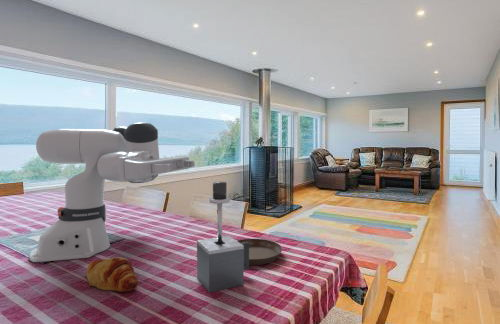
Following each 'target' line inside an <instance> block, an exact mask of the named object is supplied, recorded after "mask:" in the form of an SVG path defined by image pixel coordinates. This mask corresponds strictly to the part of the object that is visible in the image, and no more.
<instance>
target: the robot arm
mask: <svg viewBox="0 0 500 324" xmlns="http://www.w3.org/2000/svg"><path fill="white" fill-rule="evenodd" d="M158 132H159V130H158V128H157V127H156V126H154V124H152V123H150V122H149V123H148V122H145V121H143V122H134V123H132V124H129V125H128V126H125V125H123V126H116V127H114V128H113V130H109V129H100V128H99V129H97V128H96V129H95V128H89V129H88V128H86V129H85V128H58V129H50V130H45V131H42V133H40V134H39V136H38V137H37V139H36V143H35V149H36V153H37V154H38V156H39V157H40V159H42V160H43V161H44V162H47V163H54V164H60V165H71V164H73V165H74V164H75V165H76V164H78V165H79V164H80V165H81V164H84V165H85V168H84V171H82V172H79V173H78V174H76V175H74V176H72V177H71V178H69V179H68V180H66V183H65V185H64V194H65V195H64V196H65V197H64V198H65V202H64V203H65V207H64V206H60V207H58V208H57V216H58V217H57V218H58V220H57V221H55V222H54V223H53V224H52V225H50V226H49V227H48V228H47V229H45V230H44V231H43V232H42V233H41V234H40V236H39V239H38V242H37V246H36V247H34V248H33V249H32V250H31V251H30V252H29V261H30V262H32V263H43V262H51V261H53V262H55V261H65V260H67V261H68V260H76V259H77V260H78V259H87V258H91V257H92V256H94V255H96V254H99V253H101V252H104V251H106V250H108V249H109V248H110V247H111V244H110V240H109V236H108V234H107V227H106V226H107V225H106V221H107V220H106V219H107V208H106V204H105V203H104V202H105V201H104V200H105V199H104V197H105V195H104V194H105V193H104V191H105V182H106V181H112V182H121V183H123V182H124V183H126V182H128V183H131V184H144V183H149V182H152V181H154V180H155V179H156V178H157V177H158V176H159V175H161V174H167V173H172V172H173V173H174V172H178V171H182V170H183V171H184V170H188V169H190V168H194V167H195V161H194V160H190V158H189V156H173V157H171V156H170V157H169V156H168V157H163V158H160V151H159V149H160V148H159V139H158V138H159V133H158Z"/></svg>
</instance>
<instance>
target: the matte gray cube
mask: <svg viewBox="0 0 500 324" xmlns="http://www.w3.org/2000/svg"><path fill="white" fill-rule="evenodd" d="M249 269H250V265H249V243H248V242H242V243H239V242H238V241H237V240H236V239H234V237H232V236H230V235H224V236H222V243H221V244H218V243H217V237H211V238H205V239H197V240H196V271H197V272H196V274H197V277H196V278H197V280H198V281H199V282H200V283H201V284H202V286H203V287H204V288H205V290H206V291H207V292H208V293H209V294H210V293H214V292H217V291H218V292H219V291H224V290H227V289H228V290H229V289H231V288H236V287H237V288H238V287H240V286H244V281H245V280H244V276H245V275H244V272H245V271H246V270H249Z"/></svg>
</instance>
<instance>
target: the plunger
mask: <svg viewBox="0 0 500 324" xmlns="http://www.w3.org/2000/svg"><path fill="white" fill-rule="evenodd" d="M227 187H228V186H227V182H226V181H213V182H212V196H211V197H209V198H208V202H209V203H211V204H214V205H215V204H216V205H217V206H216V207H217V209H216V213H217V216H216V217H217V218H216V221H217V223H216V224H217V226H216V227H217V232H216V233H217V236H216V238H217V243H218V244H221V243H222V237H223V204H228V203H231V197H228V196H227V194H228V193H227V191H228V190H227Z"/></svg>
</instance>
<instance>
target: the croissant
mask: <svg viewBox="0 0 500 324" xmlns="http://www.w3.org/2000/svg"><path fill="white" fill-rule="evenodd" d="M85 274H86V279H87V280H88V284H89V285H88V286H92V287H96V288H97V289H98V290H102V291H104V290H105V291H115V292H121V293H122V292H129V291H132V290H135V289H136V288H137V287H138V285H139V280H138V277H137V275H136V274H135V269H134V267H133V266H132V263H131V262H130V260H128V259H127V258H125V257H118V256H116V257H109V258H100V259H99V258H98V259H97V260H93V261H90V263H88V265H87V267H86V273H85Z"/></svg>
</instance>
